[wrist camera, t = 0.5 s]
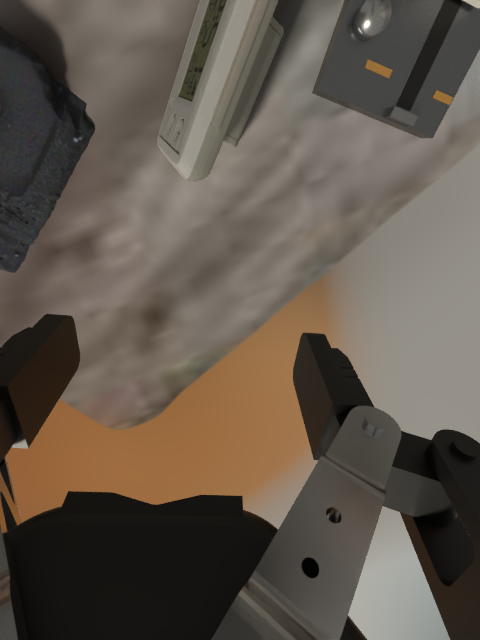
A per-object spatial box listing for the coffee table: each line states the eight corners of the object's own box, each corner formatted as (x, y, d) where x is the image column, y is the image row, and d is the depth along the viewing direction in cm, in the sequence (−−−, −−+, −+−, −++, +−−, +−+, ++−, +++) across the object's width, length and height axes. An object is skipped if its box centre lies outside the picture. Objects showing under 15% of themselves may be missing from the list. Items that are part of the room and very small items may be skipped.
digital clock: (230, -70, 25) (234, -192, 16) (315, 24, 28) (359, -32, 19) (130, 126, 31) (89, 121, 22) (208, 186, 34) (202, 205, 25)
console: (404, -170, 23) (432, -218, 20) (537, -88, 25) (581, -120, 22) (312, 93, 30) (322, 87, 27) (421, 138, 32) (442, 138, 29)
